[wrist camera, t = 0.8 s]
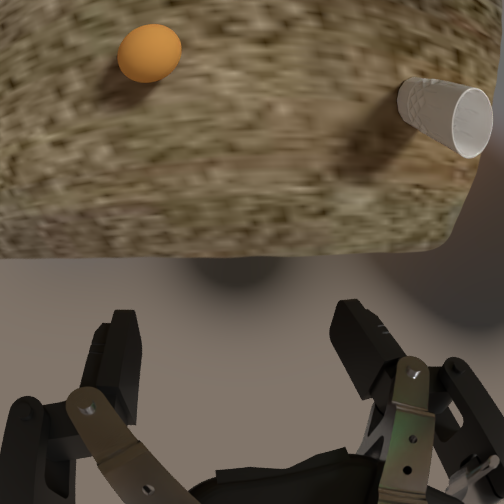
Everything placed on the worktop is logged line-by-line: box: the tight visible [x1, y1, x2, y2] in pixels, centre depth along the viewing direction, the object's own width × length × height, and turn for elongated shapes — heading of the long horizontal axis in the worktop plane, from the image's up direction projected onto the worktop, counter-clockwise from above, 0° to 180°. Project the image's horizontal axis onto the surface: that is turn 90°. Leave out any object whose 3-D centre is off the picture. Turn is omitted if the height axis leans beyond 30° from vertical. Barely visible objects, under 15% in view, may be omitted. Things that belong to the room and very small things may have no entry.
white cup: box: [397, 77, 493, 158], centre depth 25 cm, size 8×8×10 cm
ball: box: [117, 24, 182, 83], centre depth 19 cm, size 6×6×6 cm
